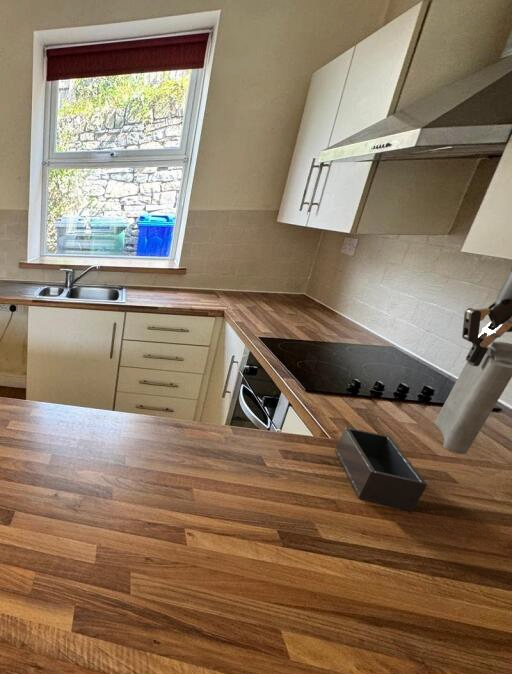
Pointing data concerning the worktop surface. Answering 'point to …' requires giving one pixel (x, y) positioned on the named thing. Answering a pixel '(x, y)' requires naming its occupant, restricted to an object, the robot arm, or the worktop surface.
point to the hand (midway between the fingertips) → (491, 367)
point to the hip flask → (474, 397)
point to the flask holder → (379, 469)
